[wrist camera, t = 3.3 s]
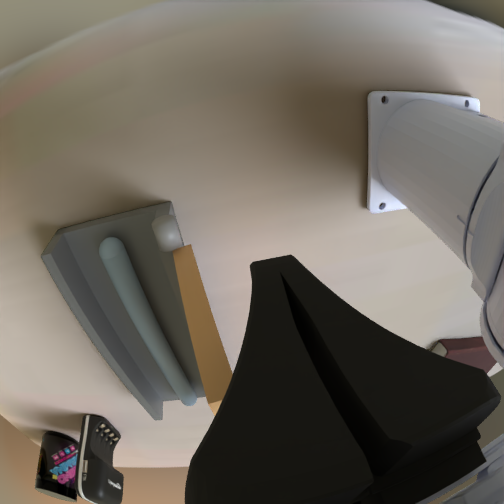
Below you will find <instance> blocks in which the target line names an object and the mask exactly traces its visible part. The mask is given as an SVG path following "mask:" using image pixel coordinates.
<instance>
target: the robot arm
mask: <svg viewBox="0 0 504 504" xmlns="http://www.w3.org/2000/svg"><path fill="white" fill-rule="evenodd" d="M383 96H385V102H384V103H382V101H381V99H382V97H383ZM465 101H466V104H464V103H465ZM479 111H480V102H479V100H478V99H477V98H475V97H469V96H461V95H451V94H440V93H426V92H406V91H372V92H371V93H369V95H368V192H367V209H368V210H369V211H370V212H371V213H373V214H375V213H381V212H387V211H393V210H399V209H405V208H408V209H409V210H410V211H411V212H412V213H413V214H415V215H416V216H417V217H418V218H419V219H420V220H421V221H422V222H423V223H424V224H425V225H426V226H427V227H428V228H430V229H431V230H432V231H433V232H434V233H435V234H436V235H437V236H438V237H439V238H440V239H441V240H442V241H443V242H444V243H445V244H446V245H447V246H448V247H449V248H450V249H451V250H452V251H453V252H454V253H455V254H456V255H457V256H458V257H459V258H460V259H461V260H462V262H463V263H464V264H465V265H466V266H467V267H468V268H469V269H470V270H471V272H472V275H473V280H472V284H471V287H472V288H473V290H474V291H475V292H476V293H477V294H478V296H479V297H480V298H481V299H482V300H483V305H482V308H481V313H480V328H481V333H482V336H483V339H484V342H485V344H486V346H487V348H488V350H489V352H490V353H491V355H492V356H493V357H494V359H495V360H496V361H497V362H498V363H499V364H500V366H501V367H503V368H504V122H502V121H499V120H497V119H494V118H492V117H489V116H487V115H484V114H482V113H479ZM381 203H383V204H382V206H381V207H379V205H380V204H381ZM250 271H251V278H252V294H251V303H250V311H249V317H248V322H247V327H246V332H245V336H244V340H243V344H242V348H241V351H240V354H239V358H238V361H237V364H236V367H235V370H234V373H233V375H232V378H231V381H230V384H229V386H228V389H227V391H226V393H225V396H224V398H223V400H222V402H221V404H220V407H219V409H218V411H217V413H216V415H215V417H214V419H213V422H212V424H211V425H210V427H209V429H208V431H207V433H206V435H205V436H204V438H203V440H202V442H201V443H200V445H199V447H198V449H197V450H196V452H195V454H194V455H193V457H192V459H191V462H190V466H189V471H188V475H187V481H186V487H185V504H427V503H429V502H431V501H433V500H435V499H436V498H438V497H440V496H442V495H444V494H445V493H447V492H449V491H451V490H452V489H454V488H455V487H457V486H459V485H460V484H462V483H464V482H465V481H467V480H468V479H470V478H471V477H473V476H474V475H476V474H477V473H478V475H477V480H476V482H474V483H473V484H471V485H469V486H467V487H466V488H464V489H462V490H461V491H459V492H457V493H455V494H454V495H452V496H450V497H449V498H447V499H445V500H444V501H442V502H441V503H439V504H504V433H503V434H502V435H501V436H499V437H498V438H497V439H495V440H494V441H492V442H491V443H490V444H488V445H487V446H485V447H484V448H482V449H480V447H479V445H478V443H477V440H479V439H480V437H481V435H480V433H479V431H478V429H477V428H476V427H477V426H479V425H480V424H481V423H482V422H483V421H484V420H485V419H486V418H487V417H488V416H489V415H490V414H491V413H492V411H494V409H495V408H496V407H497V406H498V404H499V403H500V400H501V395H500V394H499V392H498V390H497V389H496V387H495V386H494V384H493V383H492V381H491V379H490V378H489V376H488V375H487V374H486V372H485V371H484V370H483V369H480V368H477V367H473V366H470V365H467V364H464V363H461V362H457V361H454V360H451V359H448V358H446V357H443V356H441V355H438V354H436V353H433V352H431V351H428V350H426V349H424V348H422V347H420V346H417V345H415V344H413V343H411V342H409V341H407V340H405V339H403V338H401V337H400V336H398V335H396V334H394V333H392V332H390V331H388V330H387V329H385V328H383V327H382V326H380V325H378V324H377V323H375V322H374V321H372V320H370V319H369V318H367V317H366V316H364V315H363V314H361V313H360V312H359V311H357V310H356V309H354V308H353V307H352V306H350V305H349V304H348V303H346V302H345V301H344V300H343V299H341V298H340V297H339V296H337V295H336V294H335V293H334V292H333V291H331V290H330V289H329V288H328V287H327V286H325V285H324V284H323V283H322V282H321V281H320V280H319V279H317V278H316V277H315V276H314V275H313V274H312V273H311V272H310V271H309V270H308V269H306V268H305V267H304V266H303V265H302V264H301V263H300V262H299V261H298V260H297V259H296V258H295V257H294V256H292V255H287V256H281V257H276V258H271V259H266V260H260V261H255V262H252V264H251V265H250Z"/></svg>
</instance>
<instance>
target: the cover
mask: <svg viewBox="0 0 504 504" xmlns="http://www.w3.org/2000/svg"><path fill="white" fill-rule="evenodd" d="M173 257H174V262H175V267H176V272H177V277H178V282H179V287H180V292H181V296H182V301H183V306H184V310H185V315H186V319H187V323H188V328H189V332H190V336H191V340H192V344H193V349H194V353H195V357H196V361H197V364H198V368H199V372H200V376H201V380H202V383H203V387H204V391H205V394H206V398H207V401H208V405H209V406H210V408H211V410H212V412H213V413H214V415H216V413H217V411H218V409H219V407H220V404H221V402H222V400H223V398H224V396H225V393H226V391H227V389H228V386H229V384H230V381H231V378H232V375H233V374H232V371H231V368H230V365H229V362H228V359H227V356H226V354H225V351H224V348H223V345H222V342H221V339H220V336H219V333H218V330H217V327H216V324H215V321H214V318H213V315H212V312H211V308H210V305H209V302H208V299H207V296H206V293H205V290H204V286H203V283H202V280H201V277H200V273H199V270H198V267H197V263H196V260H195V257H194V253H193V250H192V246H191V244H190V245H186V246H183V247H180V248H177V249H175V250H173Z"/></svg>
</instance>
